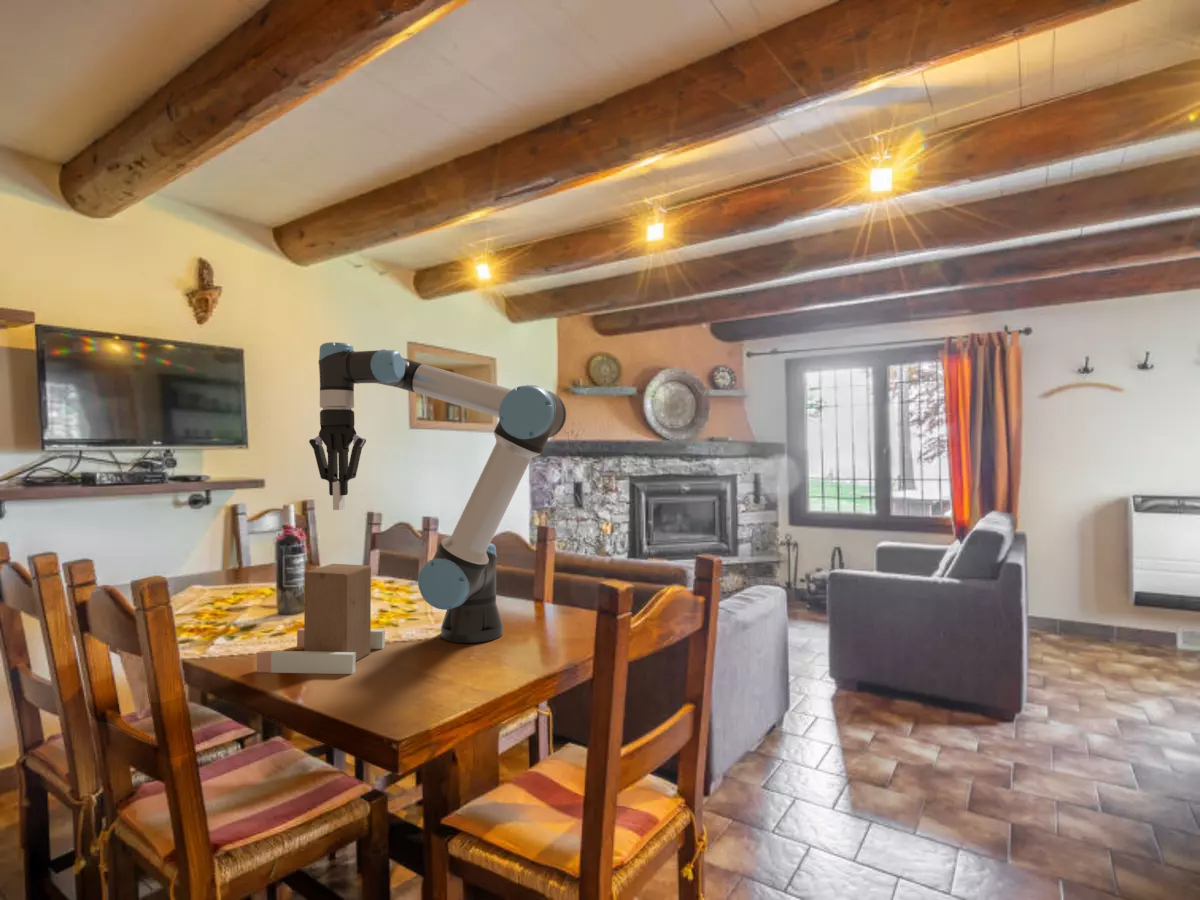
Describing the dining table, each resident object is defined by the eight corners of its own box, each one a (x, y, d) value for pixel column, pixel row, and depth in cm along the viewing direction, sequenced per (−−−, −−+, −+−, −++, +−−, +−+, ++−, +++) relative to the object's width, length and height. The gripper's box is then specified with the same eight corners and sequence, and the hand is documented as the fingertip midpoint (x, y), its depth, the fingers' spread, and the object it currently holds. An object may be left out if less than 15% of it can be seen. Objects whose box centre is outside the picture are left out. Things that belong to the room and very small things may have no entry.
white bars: (384, 646, 150) (384, 629, 150) (352, 674, 132) (352, 654, 132) (300, 645, 150) (300, 628, 150) (256, 672, 132) (256, 652, 132)
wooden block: (345, 668, 135) (345, 573, 135) (303, 665, 137) (303, 571, 137) (371, 653, 145) (371, 565, 145) (331, 650, 147) (332, 563, 147)
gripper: (370, 409, 155) (372, 507, 155) (318, 410, 155) (319, 508, 155) (357, 407, 147) (358, 510, 147) (302, 408, 148) (303, 511, 148)
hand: (338, 509), depth 151 cm, fingers closed
